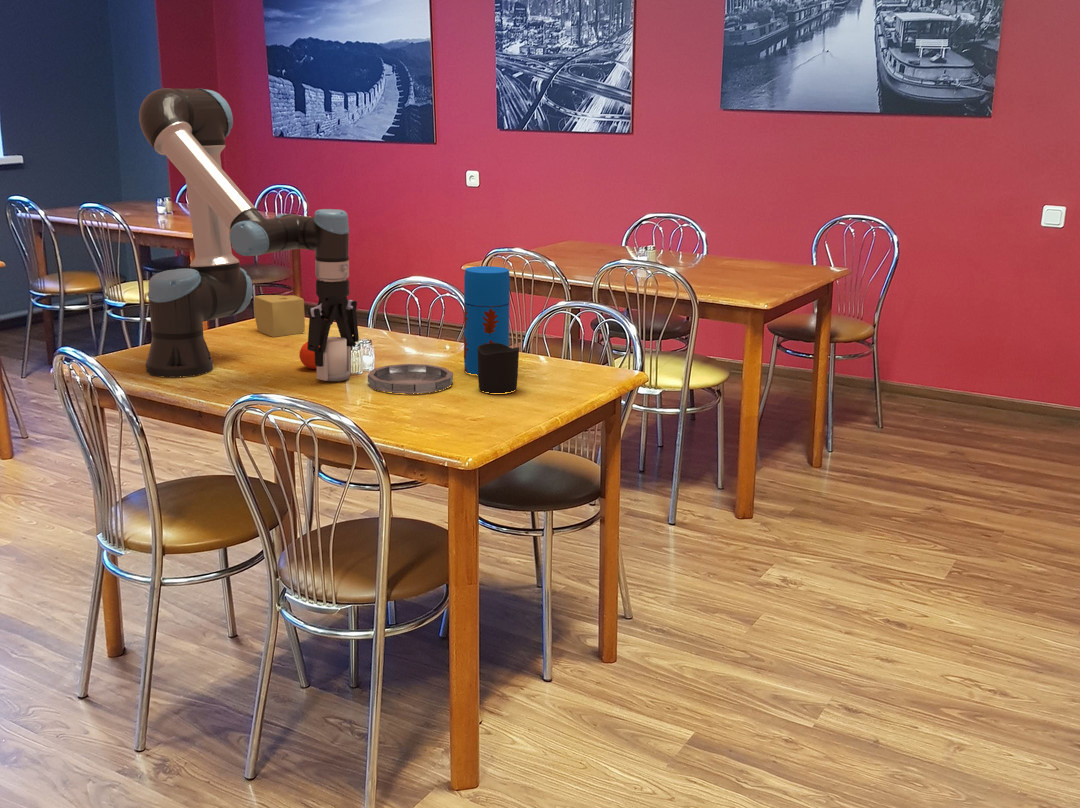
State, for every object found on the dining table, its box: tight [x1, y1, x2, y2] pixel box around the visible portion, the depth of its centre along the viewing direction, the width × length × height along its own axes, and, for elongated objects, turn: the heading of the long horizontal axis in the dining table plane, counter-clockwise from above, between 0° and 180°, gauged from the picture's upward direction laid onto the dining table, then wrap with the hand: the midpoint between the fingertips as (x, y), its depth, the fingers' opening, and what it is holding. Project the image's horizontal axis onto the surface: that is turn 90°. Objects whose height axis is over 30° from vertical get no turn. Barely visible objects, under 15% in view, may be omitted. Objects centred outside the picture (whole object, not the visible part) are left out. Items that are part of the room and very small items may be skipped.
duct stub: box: [324, 336, 351, 382], centre depth 256 cm, size 7×7×9 cm
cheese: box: [253, 294, 306, 338], centre depth 304 cm, size 10×11×10 cm
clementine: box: [298, 341, 320, 370], centre depth 266 cm, size 8×7×7 cm
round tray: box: [367, 363, 454, 395], centre depth 255 cm, size 19×19×2 cm
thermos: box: [463, 265, 511, 375], centre depth 264 cm, size 11×11×25 cm
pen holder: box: [477, 343, 520, 393], centre depth 250 cm, size 9×9×10 cm
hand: (334, 376), depth 257 cm, fingers closed on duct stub, 7 cm apart
